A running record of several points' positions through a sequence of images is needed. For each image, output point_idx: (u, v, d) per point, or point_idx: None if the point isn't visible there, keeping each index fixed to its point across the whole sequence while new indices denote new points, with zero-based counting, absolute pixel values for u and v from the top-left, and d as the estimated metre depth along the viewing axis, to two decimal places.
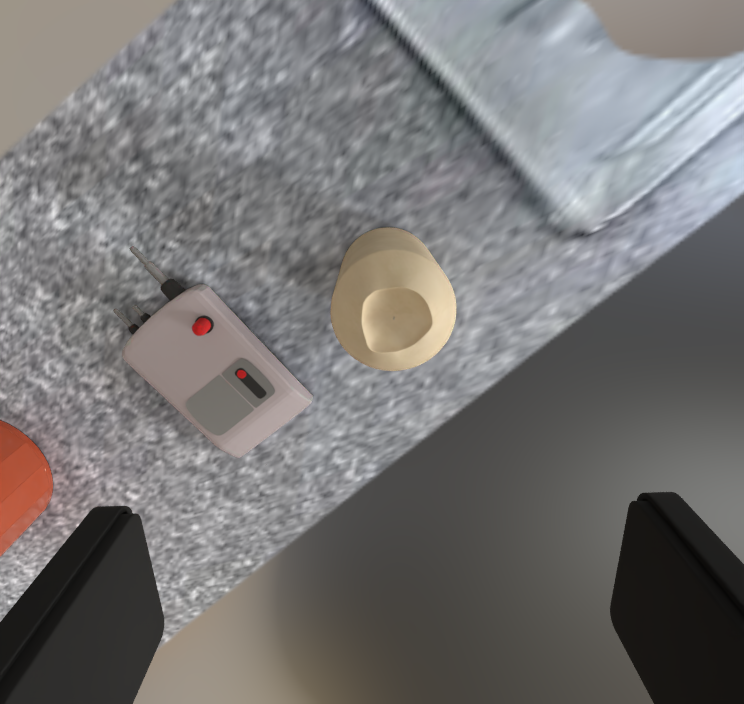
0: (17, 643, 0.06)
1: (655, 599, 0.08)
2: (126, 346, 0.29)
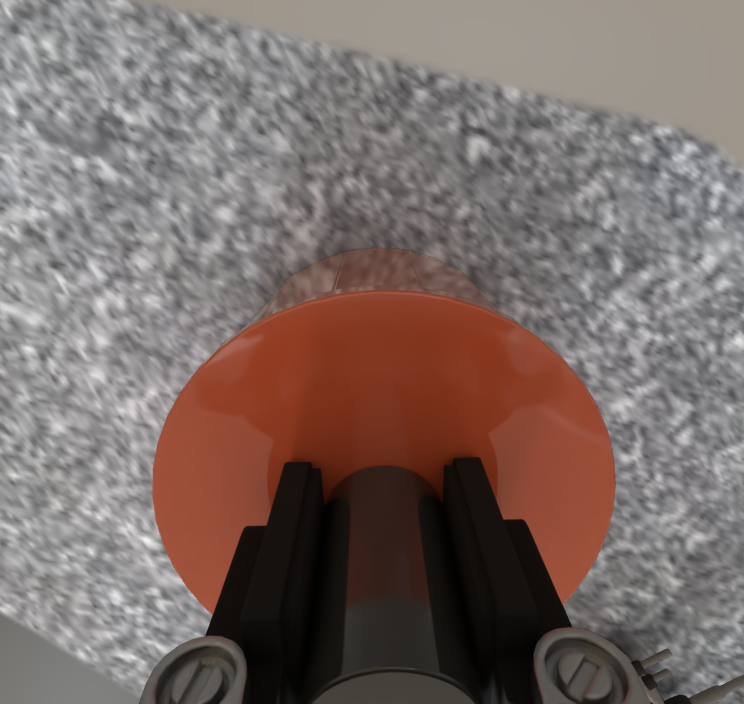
0: (284, 561, 0.08)
1: None
2: None
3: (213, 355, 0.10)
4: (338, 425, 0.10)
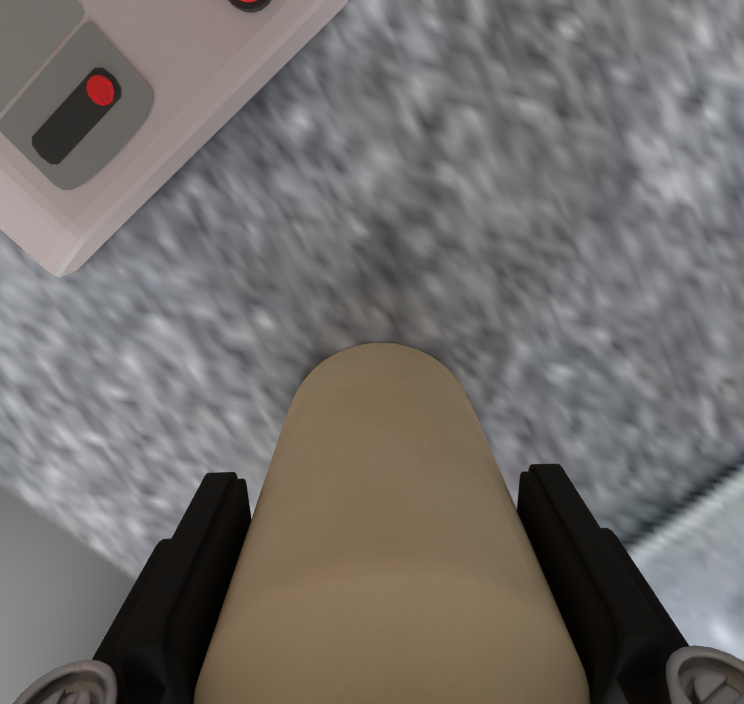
0: (179, 579, 0.07)
1: None
2: None
3: None
4: None
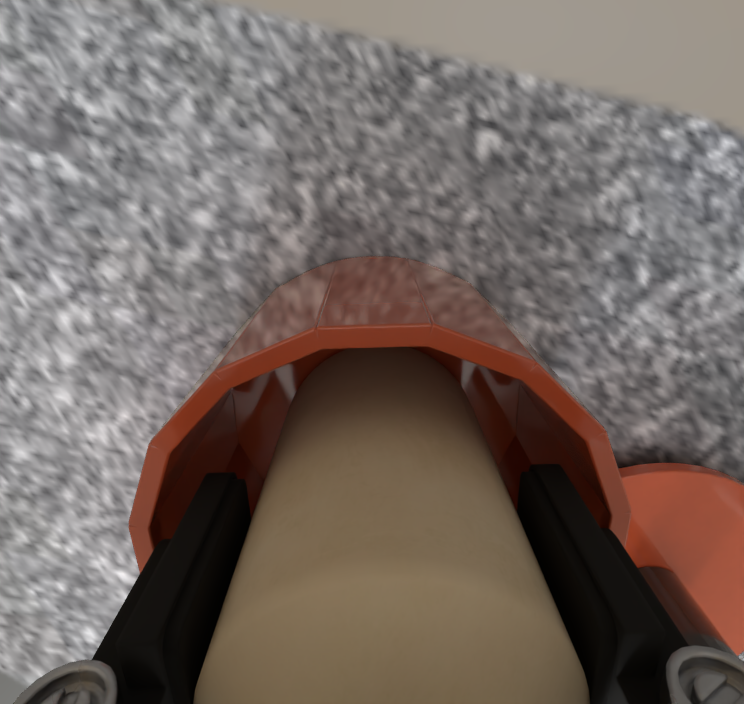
0: (178, 580, 0.07)
1: None
2: None
3: None
4: (627, 544, 0.16)
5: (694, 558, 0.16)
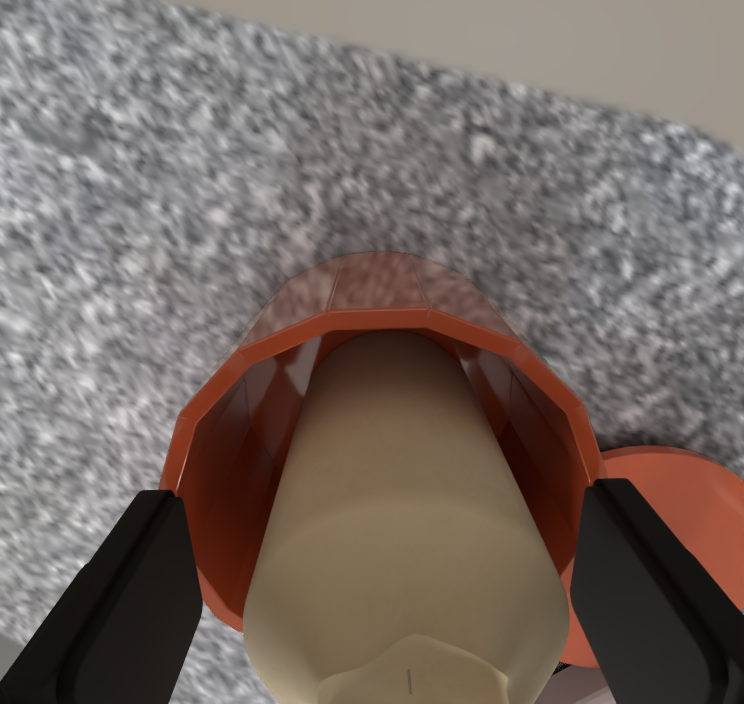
0: (85, 612, 0.07)
1: (605, 578, 0.09)
2: None
3: None
4: None
5: (677, 536, 0.18)
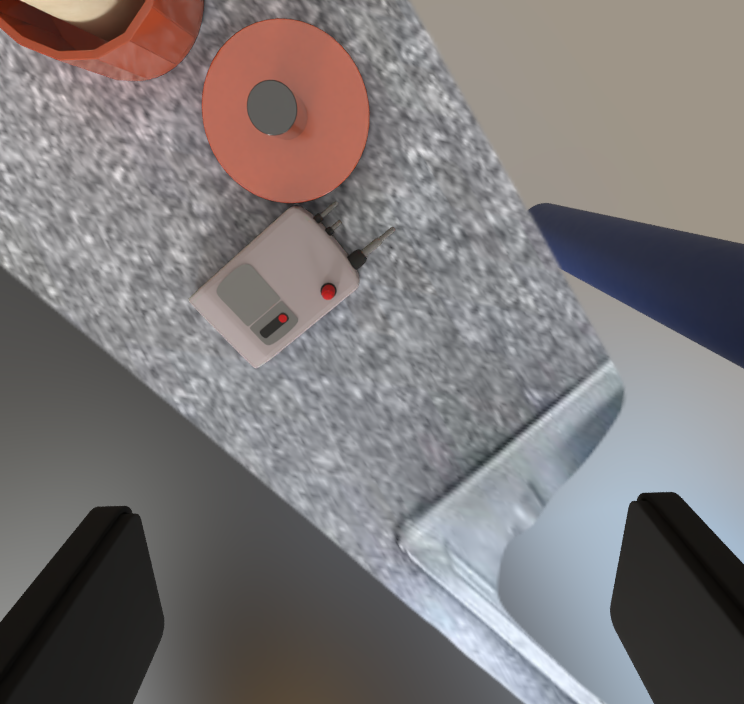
0: (17, 643, 0.06)
1: (655, 599, 0.08)
2: (303, 214, 0.31)
3: (224, 44, 0.28)
4: (267, 74, 0.29)
5: (308, 86, 0.29)
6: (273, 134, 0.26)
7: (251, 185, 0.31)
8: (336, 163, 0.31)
